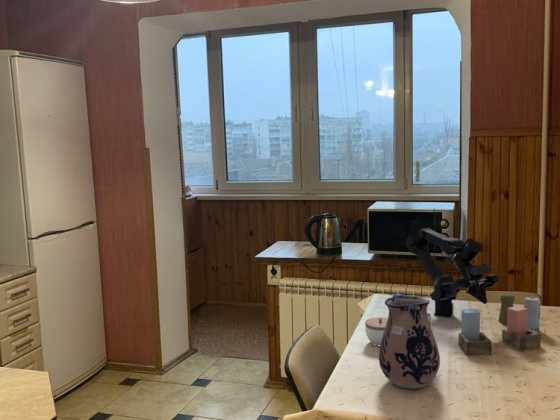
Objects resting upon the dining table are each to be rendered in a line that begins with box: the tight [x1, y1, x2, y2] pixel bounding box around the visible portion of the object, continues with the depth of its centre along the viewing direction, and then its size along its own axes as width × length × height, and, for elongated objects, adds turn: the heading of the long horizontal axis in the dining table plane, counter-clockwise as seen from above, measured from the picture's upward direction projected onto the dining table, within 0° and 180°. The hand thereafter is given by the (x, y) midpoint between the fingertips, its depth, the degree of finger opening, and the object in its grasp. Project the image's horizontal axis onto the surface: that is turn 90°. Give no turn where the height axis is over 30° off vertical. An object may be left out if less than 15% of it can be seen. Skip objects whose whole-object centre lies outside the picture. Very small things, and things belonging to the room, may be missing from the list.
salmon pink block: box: [506, 305, 527, 336], centre depth 191 cm, size 4×5×12 cm
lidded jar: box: [364, 317, 388, 346], centre depth 195 cm, size 11×11×9 cm
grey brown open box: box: [457, 331, 493, 357], centre depth 186 cm, size 9×8×4 cm
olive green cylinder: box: [498, 293, 516, 325], centre depth 212 cm, size 6×6×11 cm
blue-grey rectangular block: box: [460, 308, 481, 341], centre depth 190 cm, size 4×5×12 cm
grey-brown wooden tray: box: [501, 328, 542, 352], centre depth 189 cm, size 9×8×4 cm
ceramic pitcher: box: [378, 292, 441, 390], centre depth 163 cm, size 18×21×25 cm
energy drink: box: [523, 296, 541, 332], centre depth 202 cm, size 5×5×12 cm
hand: (485, 303), depth 200 cm, fingers closed
